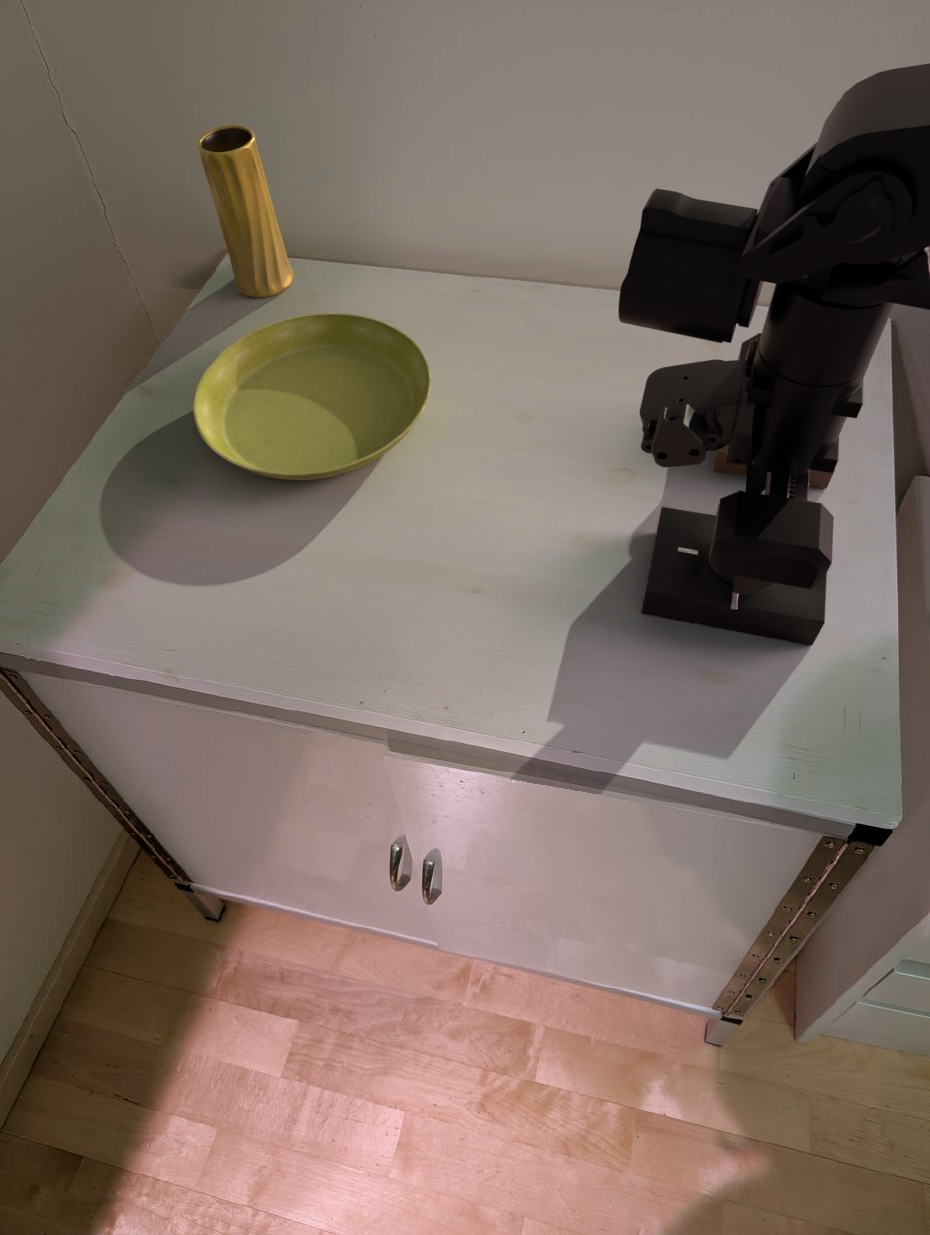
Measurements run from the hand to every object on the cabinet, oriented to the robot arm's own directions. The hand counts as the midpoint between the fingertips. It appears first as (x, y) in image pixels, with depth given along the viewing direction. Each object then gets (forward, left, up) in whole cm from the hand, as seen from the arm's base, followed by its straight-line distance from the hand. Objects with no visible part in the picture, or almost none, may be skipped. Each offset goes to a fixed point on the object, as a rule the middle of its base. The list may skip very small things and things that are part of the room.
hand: (747, 540), depth 57 cm
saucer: (+37, -11, -6) cm, 39 cm away
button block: (-2, -16, -5) cm, 17 cm away
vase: (+50, -29, -6) cm, 58 cm away
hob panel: (0, 0, -5) cm, 5 cm away
